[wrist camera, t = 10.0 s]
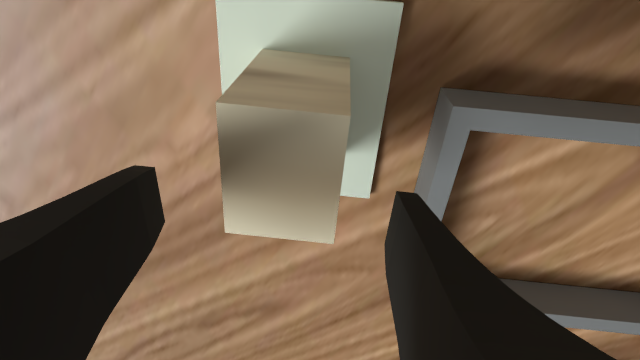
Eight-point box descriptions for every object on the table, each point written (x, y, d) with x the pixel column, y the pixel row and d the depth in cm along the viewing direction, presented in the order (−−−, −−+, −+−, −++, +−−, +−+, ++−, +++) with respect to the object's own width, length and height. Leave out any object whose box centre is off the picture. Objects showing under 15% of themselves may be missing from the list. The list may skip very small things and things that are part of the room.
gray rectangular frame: (681, 308, 24) (712, 342, 22) (392, 278, 25) (396, 309, 22) (845, 125, 17) (915, 149, 15) (440, 87, 18) (453, 106, 16)
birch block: (338, 154, 19) (333, 243, 14) (262, 146, 19) (225, 232, 14) (349, 57, 17) (350, 116, 11) (262, 48, 17) (215, 102, 11)
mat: (368, 194, 21) (369, 198, 21) (230, 180, 21) (228, 184, 21) (402, 1, 16) (403, 3, 15) (217, -15, 16) (214, -14, 16)
